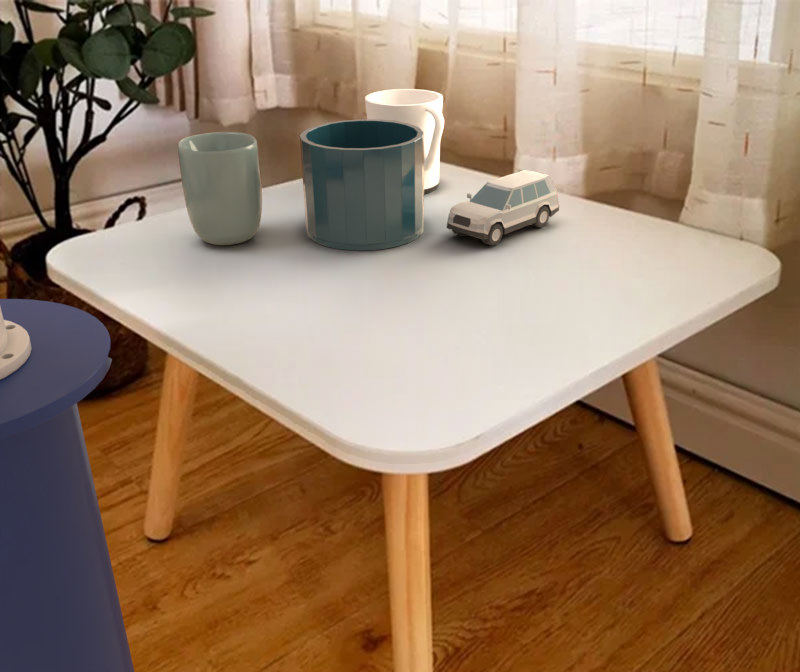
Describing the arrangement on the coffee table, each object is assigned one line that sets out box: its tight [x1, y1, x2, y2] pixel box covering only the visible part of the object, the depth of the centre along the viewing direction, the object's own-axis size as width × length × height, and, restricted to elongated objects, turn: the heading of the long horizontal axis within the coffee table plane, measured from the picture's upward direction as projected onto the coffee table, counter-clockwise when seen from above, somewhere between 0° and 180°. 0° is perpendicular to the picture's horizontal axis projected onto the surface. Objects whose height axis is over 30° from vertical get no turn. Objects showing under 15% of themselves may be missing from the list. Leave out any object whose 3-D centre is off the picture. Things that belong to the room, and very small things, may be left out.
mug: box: [364, 88, 445, 195], centre depth 109 cm, size 11×9×10 cm
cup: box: [177, 131, 263, 246], centre depth 94 cm, size 8×8×10 cm
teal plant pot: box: [299, 118, 425, 251], centre depth 96 cm, size 12×12×10 cm
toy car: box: [446, 169, 560, 246], centre depth 97 cm, size 6×13×5 cm, turn 134°
